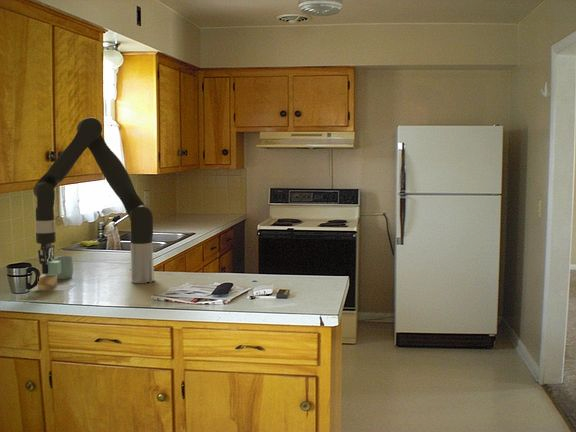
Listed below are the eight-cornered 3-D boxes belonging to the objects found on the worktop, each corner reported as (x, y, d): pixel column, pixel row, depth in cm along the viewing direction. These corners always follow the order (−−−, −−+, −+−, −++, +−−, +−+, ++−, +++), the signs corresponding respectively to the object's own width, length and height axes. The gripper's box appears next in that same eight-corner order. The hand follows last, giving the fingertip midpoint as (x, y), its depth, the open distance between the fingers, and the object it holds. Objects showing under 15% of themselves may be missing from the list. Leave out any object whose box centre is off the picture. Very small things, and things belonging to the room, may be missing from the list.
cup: (54, 282, 292) (53, 259, 291) (55, 278, 300) (54, 256, 299) (73, 281, 295) (72, 258, 293) (74, 277, 302) (73, 255, 301)
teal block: (61, 272, 278) (60, 260, 278) (57, 274, 273) (57, 262, 273) (48, 272, 278) (48, 260, 277) (45, 275, 273) (44, 262, 272)
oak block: (57, 286, 279) (57, 274, 279) (53, 289, 273) (52, 277, 273) (42, 286, 279) (42, 274, 278) (38, 289, 273) (37, 277, 273)
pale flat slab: (75, 287, 282) (75, 284, 282) (69, 292, 272) (69, 290, 272) (37, 287, 281) (36, 285, 281) (29, 293, 271) (29, 290, 271)
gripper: (49, 233, 267) (51, 275, 269) (59, 228, 281) (61, 269, 283) (30, 233, 266) (32, 276, 268) (41, 228, 280) (43, 269, 282)
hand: (47, 272), depth 275 cm, fingers closed on teal block, 4 cm apart
